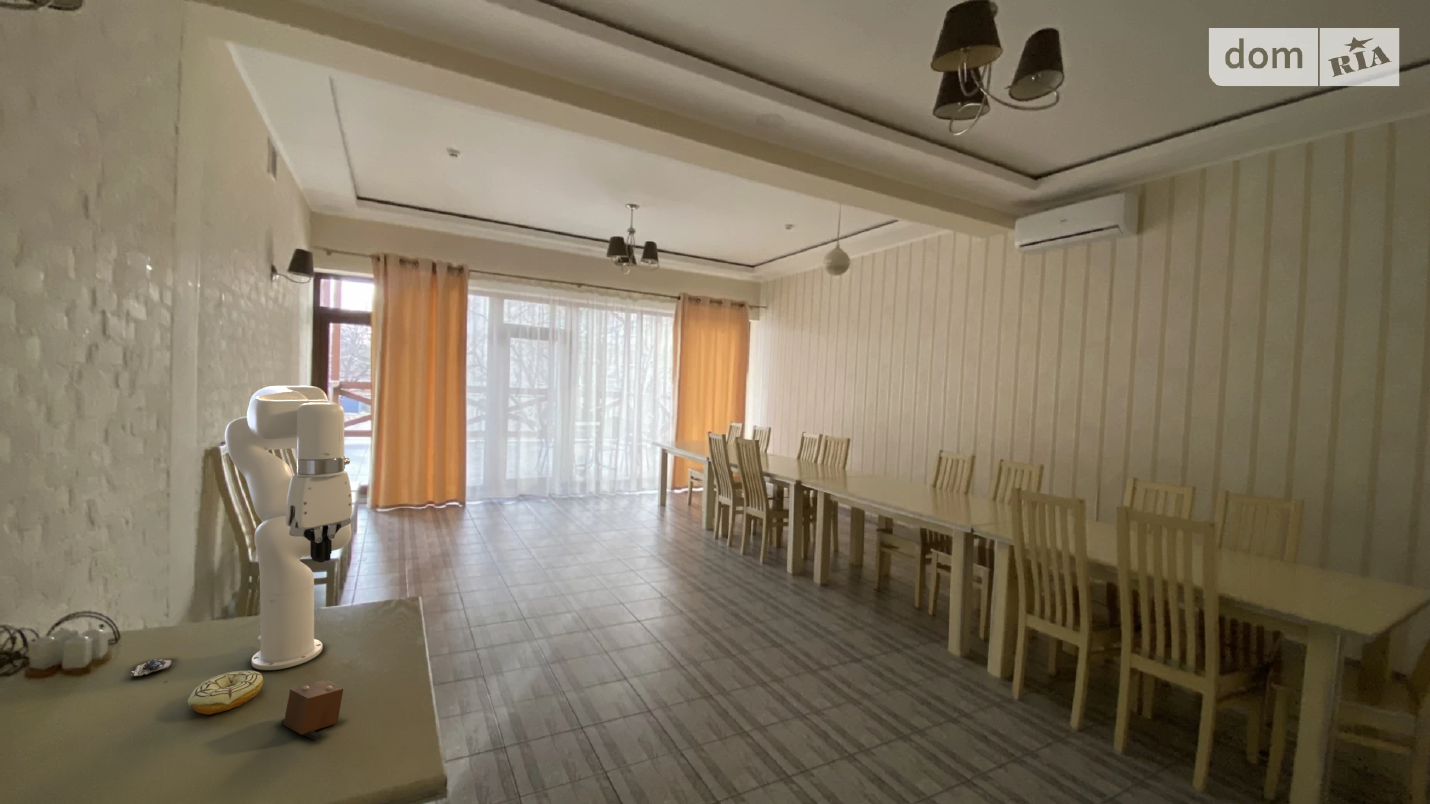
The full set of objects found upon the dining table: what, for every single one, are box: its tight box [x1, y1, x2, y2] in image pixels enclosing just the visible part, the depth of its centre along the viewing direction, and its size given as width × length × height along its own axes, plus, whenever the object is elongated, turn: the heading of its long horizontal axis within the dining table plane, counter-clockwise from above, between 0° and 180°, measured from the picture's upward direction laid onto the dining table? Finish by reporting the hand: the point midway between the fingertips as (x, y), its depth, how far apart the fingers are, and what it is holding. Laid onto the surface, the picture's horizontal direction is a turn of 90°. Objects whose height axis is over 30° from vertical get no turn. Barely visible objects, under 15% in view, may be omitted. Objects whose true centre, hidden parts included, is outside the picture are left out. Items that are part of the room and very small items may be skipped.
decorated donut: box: [187, 670, 264, 715], centre depth 108 cm, size 10×11×4 cm
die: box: [283, 679, 344, 735], centre depth 102 cm, size 6×6×6 cm
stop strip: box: [280, 718, 321, 741], centre depth 100 cm, size 10×1×1 cm, turn 66°
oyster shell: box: [130, 658, 172, 677], centre depth 119 cm, size 7×8×2 cm
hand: (321, 560), depth 110 cm, fingers closed
